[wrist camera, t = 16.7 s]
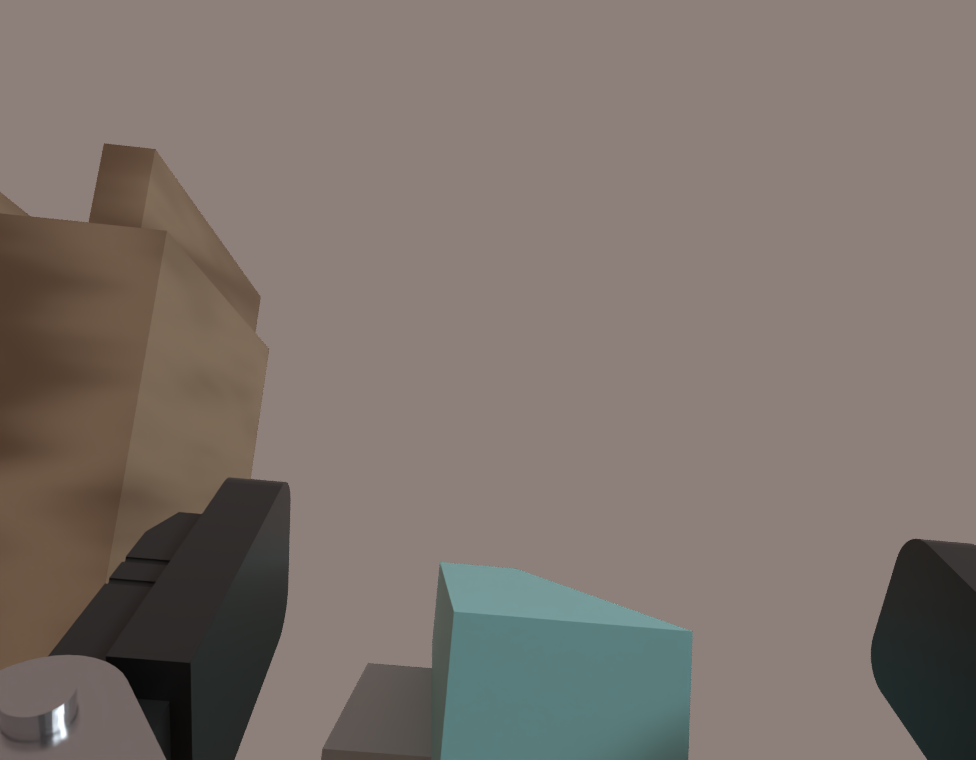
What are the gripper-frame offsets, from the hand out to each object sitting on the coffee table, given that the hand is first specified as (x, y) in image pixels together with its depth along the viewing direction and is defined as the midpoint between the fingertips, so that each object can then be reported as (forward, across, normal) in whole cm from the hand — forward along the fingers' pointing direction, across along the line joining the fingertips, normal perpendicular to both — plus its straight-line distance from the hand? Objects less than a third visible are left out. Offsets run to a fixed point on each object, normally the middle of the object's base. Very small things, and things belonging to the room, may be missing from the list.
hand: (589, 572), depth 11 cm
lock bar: (+10, 0, +11) cm, 15 cm away
